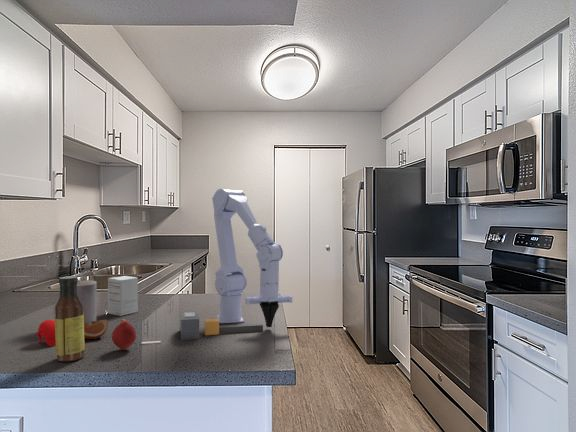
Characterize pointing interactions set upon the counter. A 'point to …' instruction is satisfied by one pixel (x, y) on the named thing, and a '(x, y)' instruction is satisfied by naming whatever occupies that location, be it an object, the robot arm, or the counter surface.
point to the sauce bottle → (69, 322)
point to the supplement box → (122, 295)
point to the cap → (47, 332)
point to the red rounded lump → (124, 335)
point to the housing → (189, 325)
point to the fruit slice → (95, 329)
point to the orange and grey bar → (228, 327)
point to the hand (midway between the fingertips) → (268, 326)
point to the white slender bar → (151, 342)
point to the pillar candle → (88, 298)
